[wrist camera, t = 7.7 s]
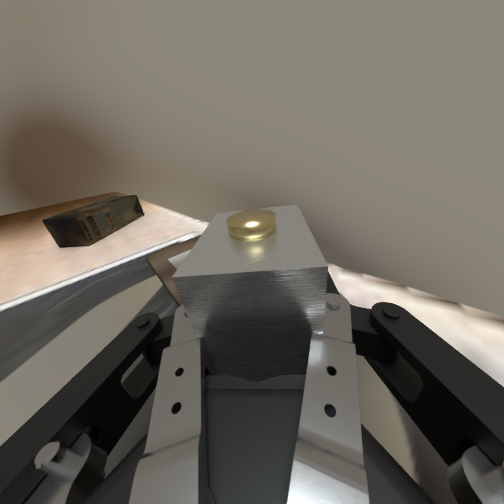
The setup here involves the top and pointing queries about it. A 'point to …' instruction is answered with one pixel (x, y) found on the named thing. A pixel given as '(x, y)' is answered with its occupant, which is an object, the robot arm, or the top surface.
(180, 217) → the top surface
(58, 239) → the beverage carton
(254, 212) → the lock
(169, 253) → the mount plate
